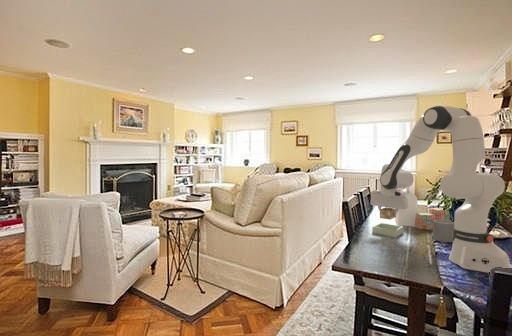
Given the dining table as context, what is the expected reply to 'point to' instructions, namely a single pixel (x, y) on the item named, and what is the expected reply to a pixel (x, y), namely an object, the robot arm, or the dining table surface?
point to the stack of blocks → (430, 218)
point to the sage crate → (387, 230)
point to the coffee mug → (443, 230)
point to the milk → (408, 210)
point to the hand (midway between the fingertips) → (388, 214)
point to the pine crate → (387, 213)
